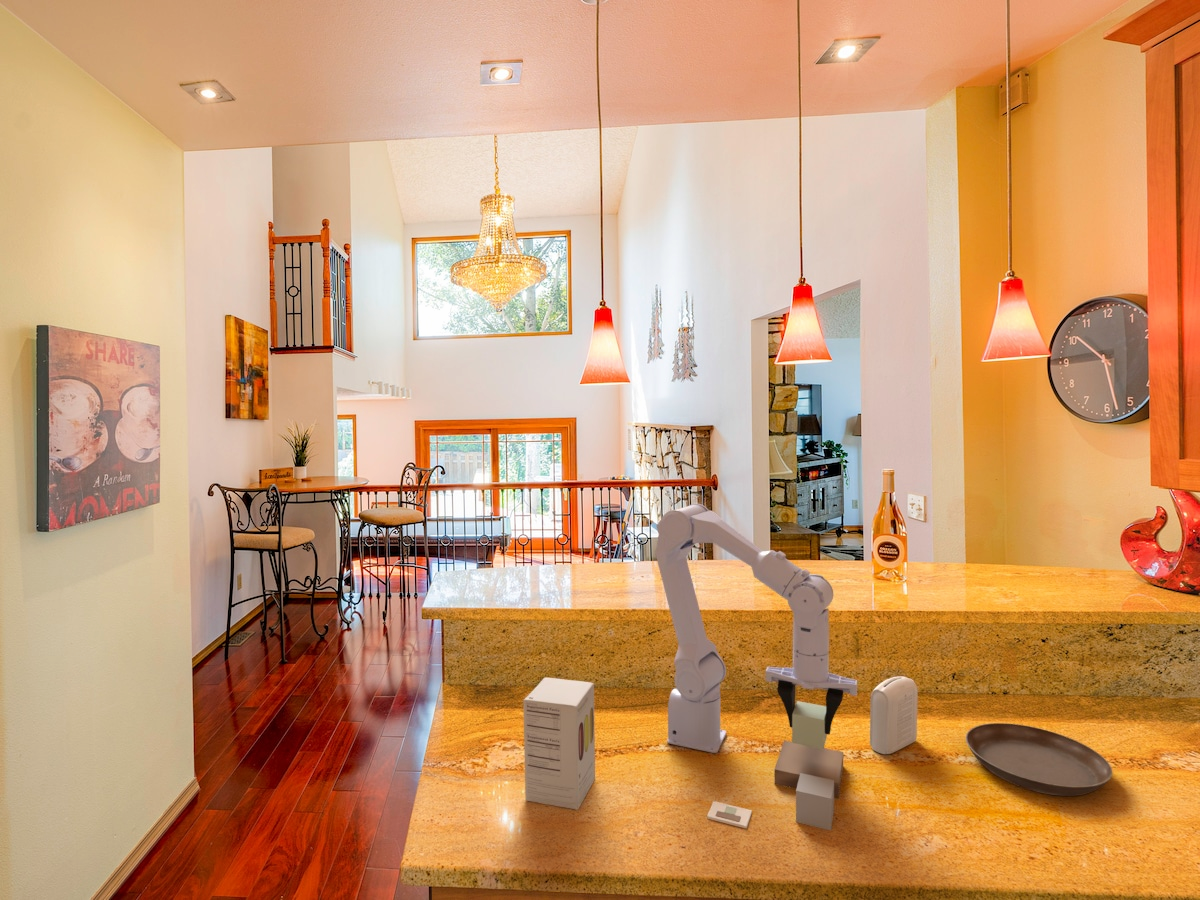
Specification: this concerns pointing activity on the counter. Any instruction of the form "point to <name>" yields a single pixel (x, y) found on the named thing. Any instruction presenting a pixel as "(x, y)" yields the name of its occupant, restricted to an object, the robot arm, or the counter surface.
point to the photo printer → (893, 715)
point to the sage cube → (809, 725)
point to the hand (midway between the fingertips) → (810, 728)
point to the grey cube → (815, 801)
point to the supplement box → (559, 742)
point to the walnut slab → (808, 765)
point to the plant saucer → (1038, 759)
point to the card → (729, 814)
